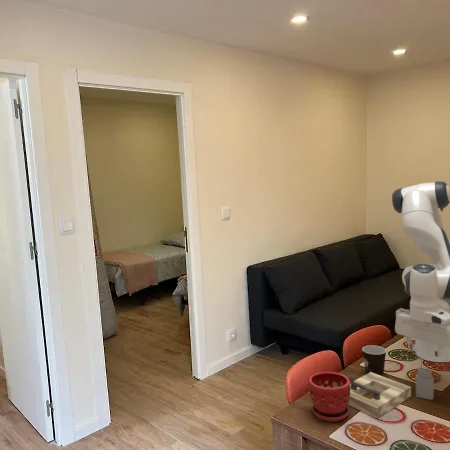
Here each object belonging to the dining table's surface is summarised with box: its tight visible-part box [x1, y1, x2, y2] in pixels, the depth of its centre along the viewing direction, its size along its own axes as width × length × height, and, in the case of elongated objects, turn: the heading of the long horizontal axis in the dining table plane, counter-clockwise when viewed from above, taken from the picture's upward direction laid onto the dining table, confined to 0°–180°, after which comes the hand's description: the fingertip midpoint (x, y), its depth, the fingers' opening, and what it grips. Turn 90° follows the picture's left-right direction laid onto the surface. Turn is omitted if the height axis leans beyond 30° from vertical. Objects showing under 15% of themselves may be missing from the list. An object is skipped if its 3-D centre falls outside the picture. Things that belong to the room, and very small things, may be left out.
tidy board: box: [348, 372, 412, 419], centre depth 155 cm, size 20×16×8 cm
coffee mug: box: [361, 345, 387, 377], centre depth 174 cm, size 12×9×10 cm
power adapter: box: [415, 362, 435, 401], centre depth 154 cm, size 3×5×12 cm, turn 57°
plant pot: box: [308, 371, 350, 422], centre depth 147 cm, size 13×13×12 cm
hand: (424, 352), depth 153 cm, fingers open, 8 cm apart
